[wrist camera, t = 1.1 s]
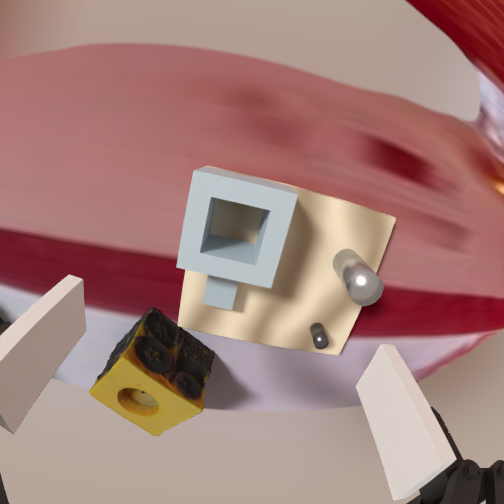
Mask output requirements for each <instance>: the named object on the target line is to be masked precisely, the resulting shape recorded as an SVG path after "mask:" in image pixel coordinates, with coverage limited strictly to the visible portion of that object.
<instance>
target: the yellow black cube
mask: <svg viewBox="0 0 504 504" xmlns="http://www.w3.org/2000/svg"><path fill="white" fill-rule="evenodd" d="M214 355H215V354H214V351H211V350H209V349H208V348H207V347H206V346H205V345H203V344H202V343H201V342H200V341H199V340H197V339H195V338H194V337H193V336H191V335H190V334H189V333H188V332H186V331H184V330H183V329H182V328H181V327H179V326H178V325H176V324H175V323H174V322H172V321H171V320H169V319H168V318H166V317H165V316H164V315H163V314H162V313H161V312H160V311H159V310H158V309H156V308H154V307H152V308H149V311H148V312H147V313H145V315H143V316H142V318H141V319H140V320H139V321H138V322H136V324H135V325H134V326H133V328H132V329H131V330H130V331H129V333H127V334H126V335H125V336H124V338H123V339H122V340H121V341H120V342H119V343H117V345H116V348H115V349H114V350H113V352H112V353H111V355H110V359H109V360H108V361H107V365H106V367H105V368H104V370H103V372H102V373H101V374H100V375H99V376H98V377H97V380H96V382H95V384H94V385H93V387H92V388H91V390H90V391H89V393H90V394H91V395H92V396H93V397H95V398H96V399H97V400H98V401H100V402H101V403H103V404H104V405H106V406H107V407H109V408H111V409H112V410H113V411H115V412H116V413H118V414H120V415H121V416H122V417H124V418H126V419H128V420H129V421H131V422H132V423H134V424H136V425H137V426H139V427H141V428H142V429H144V430H145V431H147V432H149V433H150V434H152V435H153V436H159V435H160V434H161V433H163V432H164V431H165V430H168V429H170V428H172V427H174V426H175V425H177V424H179V423H181V422H183V421H185V420H187V419H189V418H191V417H193V416H195V415H197V414H199V413H201V412H202V411H203V408H204V395H205V392H204V385H205V381H206V380H207V377H209V374H210V373H211V366H212V361H213V357H214Z"/></svg>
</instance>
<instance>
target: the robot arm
mask: <svg viewBox="0 0 504 504" xmlns="http://www.w3.org/2000/svg"><path fill="white" fill-rule="evenodd" d="M85 332H86V321H85V308H84V290H83V279H81V278H78V277H75V276H72V275H68V276H67V277H65V278H64V279H63V280H62V281H61V282H59V283H58V284H57V285H56V286H55V287H53V288H52V289H51V290H50V291H49V292H47V293H46V294H45V295H44V296H43V297H42V298H41V299H39V300H38V301H37V302H36V303H35V304H34V305H33V306H31V307H30V308H29V309H28V310H27V311H26V312H25V313H24V314H23V315H22V316H20V317H19V318H18V319H17V320H16V321H15V322H14V323H13V324H12V323H10V322H6V323H3V322H2V321H1V319H0V425H1V426H2V427H3V428H5V429H6V430H8V431H9V432H11V433H12V434H15V432H16V430H17V429H18V427H19V426H20V424H21V422H22V421H23V419H24V417H25V416H26V414H27V413H28V411H29V410H30V408H31V407H32V405H33V403H34V402H35V401H36V399H37V398H38V396H39V395H40V393H41V392H42V390H43V389H44V387H45V386H46V384H47V383H48V382H49V380H50V379H51V377H52V376H53V375H54V373H55V372H56V370H57V369H58V368H59V366H60V365H61V364H62V362H63V361H64V359H65V358H66V357H67V355H68V354H69V353H70V351H71V350H72V349H73V347H74V346H75V345H76V344H77V342H78V341H79V340H80V338H81V337H82V336H83V334H84V333H85ZM356 389H357V392H358V394H359V397H360V400H361V403H362V406H363V408H364V411H365V414H366V417H367V420H368V422H369V425H370V428H371V431H372V434H373V437H374V440H375V443H376V446H377V449H378V452H379V455H380V458H381V461H382V464H383V467H384V471H385V474H386V477H387V480H388V484H389V487H390V490H391V494H392V497H393V500H394V501H395V500H398V499H403V498H406V497H409V496H411V495H412V494H414V493H415V492H416V491H418V490H419V491H420V495H419V496H417V497H416V498H414V499H413V500H412V501H410V502H408V503H407V504H413V503H414V504H480V503H481V502H483V501H484V500H486V504H504V461H502V460H498V461H497V462H495V463H494V464H493V465H492V466H491V467H489V468H480V467H479V466H478V465H477V463H475V462H474V461H472V460H469V459H467V460H463V458H462V457H461V454H460V452H459V450H458V448H457V446H456V445H455V443H454V441H453V439H452V437H451V435H450V433H448V429H447V427H446V426H445V423H444V421H443V420H442V418H441V416H440V414H438V412H437V411H436V410H435V409H434V408H433V407H430V406H429V404H428V402H427V401H426V399H425V397H424V395H423V394H422V392H421V390H420V388H419V387H418V385H417V383H416V381H415V379H414V378H413V376H412V374H411V373H410V371H409V369H408V368H407V366H406V364H405V362H404V361H403V359H402V358H401V356H400V354H399V353H398V351H397V349H396V348H395V346H394V345H388V344H381V345H380V346H379V348H378V350H377V352H376V353H375V355H374V357H373V359H372V360H371V362H370V364H369V365H368V367H367V369H366V370H365V372H364V374H363V375H362V377H361V379H360V380H359V382H358V383H357V385H356ZM0 504H9V502H8V499H7V496H6V492H5V489H4V485H3V482H2V478H1V474H0Z"/></svg>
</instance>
